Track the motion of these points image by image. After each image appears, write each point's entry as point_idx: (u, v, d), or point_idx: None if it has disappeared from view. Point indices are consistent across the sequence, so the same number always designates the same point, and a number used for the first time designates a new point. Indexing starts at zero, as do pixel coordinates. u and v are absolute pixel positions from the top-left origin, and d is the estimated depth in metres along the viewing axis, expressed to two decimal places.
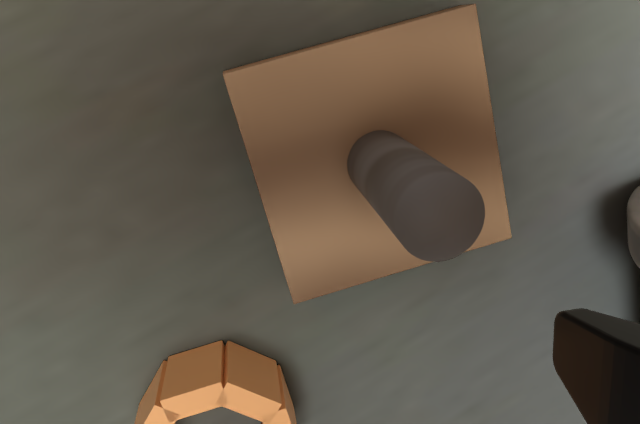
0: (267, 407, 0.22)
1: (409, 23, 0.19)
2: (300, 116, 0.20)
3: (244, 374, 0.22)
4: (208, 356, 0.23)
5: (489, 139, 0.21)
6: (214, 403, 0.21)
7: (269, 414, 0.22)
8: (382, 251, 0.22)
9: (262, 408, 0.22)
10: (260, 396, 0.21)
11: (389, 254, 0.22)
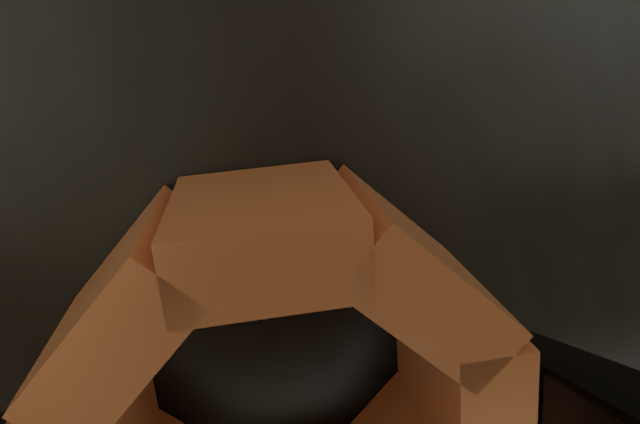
0: (134, 306, 0.06)
1: None
2: None
3: (66, 324, 0.07)
4: None
5: None
6: None
7: (166, 303, 0.06)
8: None
9: (135, 323, 0.06)
10: (78, 323, 0.06)
11: None
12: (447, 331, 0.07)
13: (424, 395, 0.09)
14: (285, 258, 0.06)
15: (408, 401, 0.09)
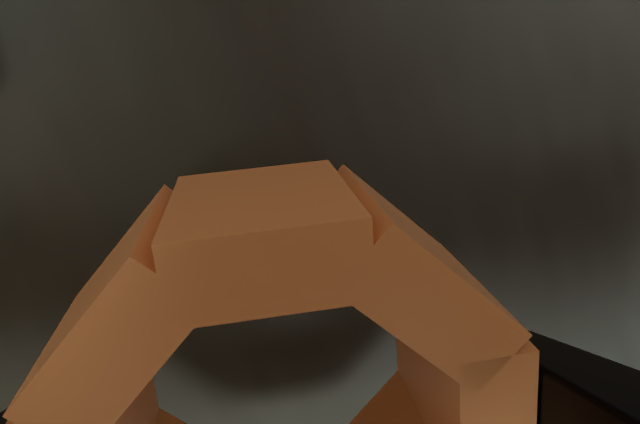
0: (134, 305, 0.06)
1: None
2: None
3: (67, 323, 0.07)
4: None
5: None
6: None
7: (166, 302, 0.06)
8: None
9: (135, 322, 0.06)
10: (79, 321, 0.06)
11: None
12: (446, 330, 0.07)
13: (423, 394, 0.09)
14: (285, 258, 0.06)
15: (408, 400, 0.09)
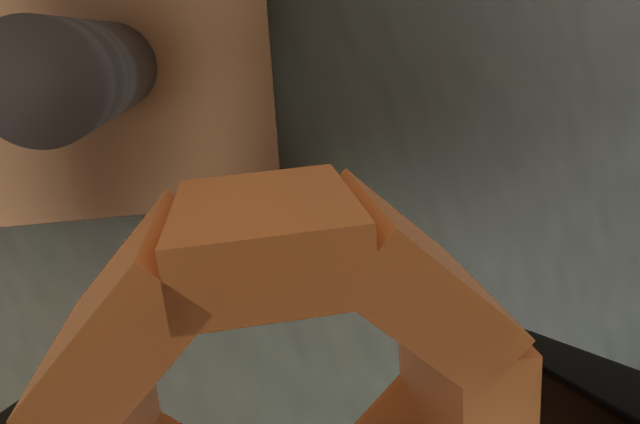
0: (137, 311, 0.06)
1: None
2: (42, 153, 0.17)
3: (69, 329, 0.07)
4: None
5: None
6: None
7: (170, 308, 0.06)
8: (237, 81, 0.17)
9: (138, 328, 0.06)
10: (81, 328, 0.06)
11: (243, 72, 0.17)
12: (449, 336, 0.07)
13: (426, 398, 0.09)
14: (288, 263, 0.06)
15: (410, 405, 0.09)
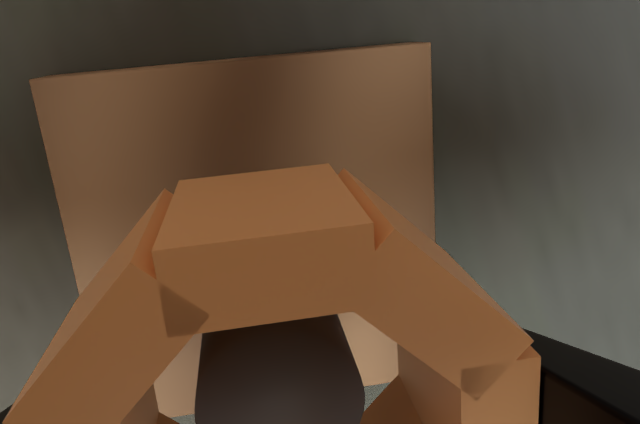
0: (134, 311, 0.06)
1: (55, 186, 0.13)
2: None
3: (67, 329, 0.07)
4: None
5: (253, 71, 0.13)
6: None
7: (167, 308, 0.06)
8: None
9: (135, 328, 0.06)
10: (79, 328, 0.06)
11: None
12: (448, 336, 0.07)
13: (424, 399, 0.09)
14: (285, 263, 0.06)
15: (408, 405, 0.09)
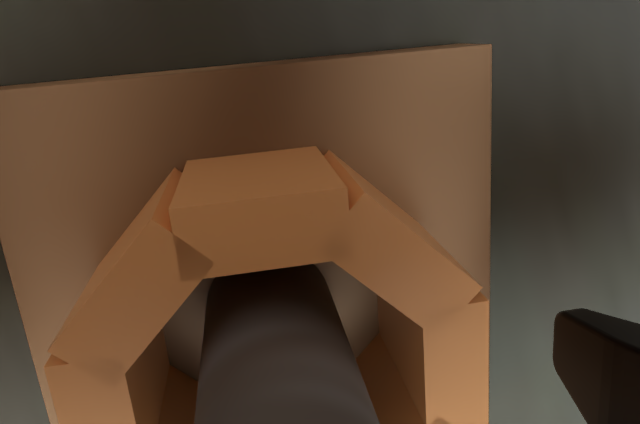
0: (154, 259, 0.07)
1: (0, 234, 0.10)
2: None
3: (96, 280, 0.08)
4: None
5: (261, 82, 0.10)
6: (112, 387, 0.08)
7: (180, 257, 0.07)
8: None
9: (155, 273, 0.07)
10: (110, 273, 0.07)
11: None
12: (410, 282, 0.08)
13: (398, 347, 0.10)
14: (277, 221, 0.07)
15: (386, 356, 0.11)
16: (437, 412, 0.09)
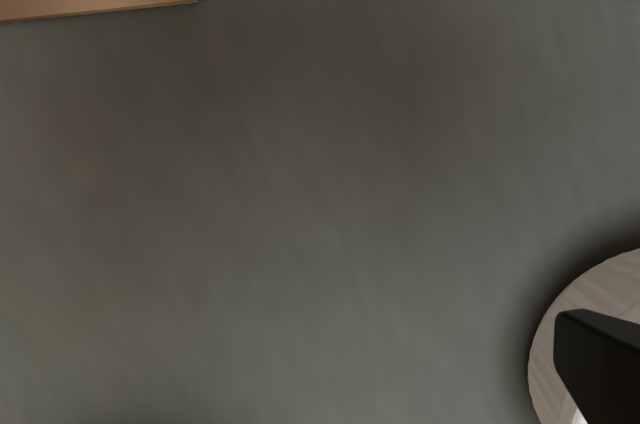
0: None
1: None
2: None
3: None
4: None
5: None
6: None
7: None
8: None
9: None
10: None
11: None
12: None
13: None
14: None
15: None
16: None
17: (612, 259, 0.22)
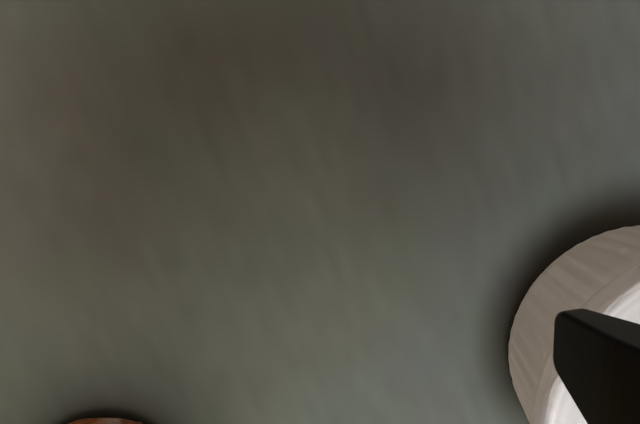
0: None
1: None
2: None
3: None
4: None
5: None
6: None
7: None
8: None
9: None
10: None
11: None
12: None
13: None
14: None
15: None
16: None
17: (596, 237, 0.22)
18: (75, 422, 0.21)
